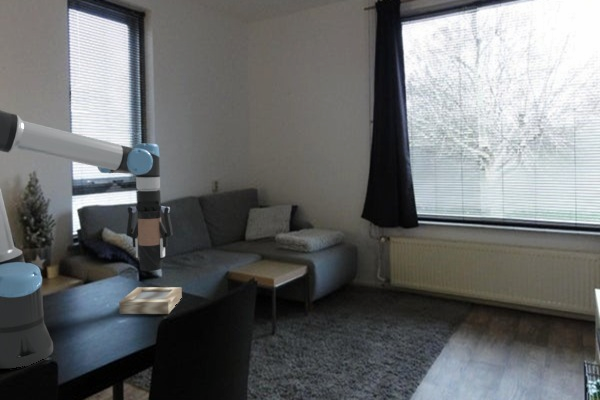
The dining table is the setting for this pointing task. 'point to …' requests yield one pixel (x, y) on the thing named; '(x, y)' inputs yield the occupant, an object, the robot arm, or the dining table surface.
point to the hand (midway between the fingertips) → (150, 256)
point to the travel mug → (149, 240)
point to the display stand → (150, 300)
